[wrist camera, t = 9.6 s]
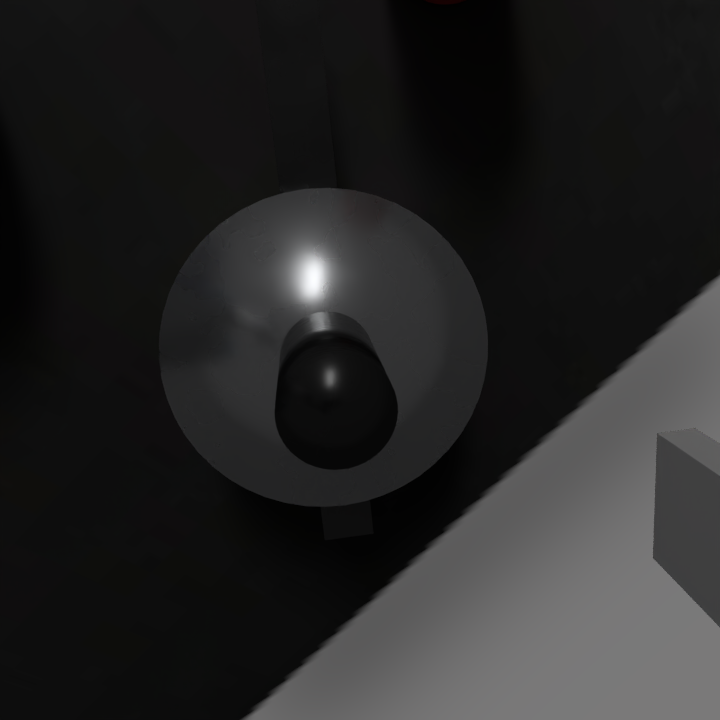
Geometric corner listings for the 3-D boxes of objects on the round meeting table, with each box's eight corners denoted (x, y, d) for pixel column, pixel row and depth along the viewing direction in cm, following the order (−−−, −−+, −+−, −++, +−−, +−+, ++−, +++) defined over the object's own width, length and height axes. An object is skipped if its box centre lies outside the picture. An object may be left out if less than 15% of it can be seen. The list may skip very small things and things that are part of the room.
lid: (134, 206, 27) (68, 216, 19) (472, 171, 27) (541, 165, 20) (193, 515, 30) (158, 628, 23) (489, 475, 31) (552, 570, 23)
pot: (228, 486, 39) (211, 561, 31) (146, -5, 32) (98, -65, 24) (448, 457, 40) (484, 523, 32) (414, -27, 33) (451, -92, 25)
